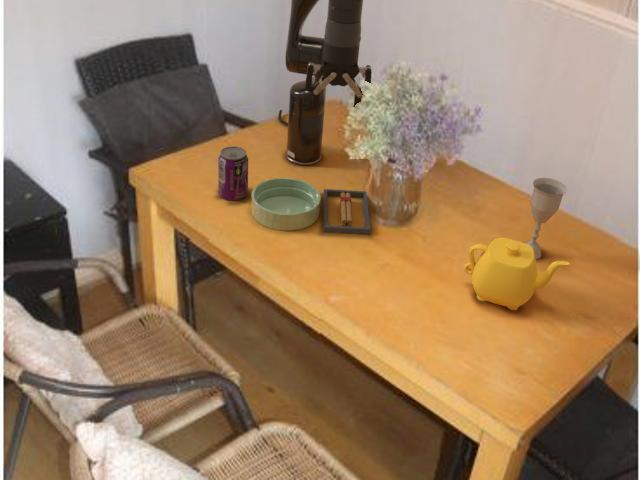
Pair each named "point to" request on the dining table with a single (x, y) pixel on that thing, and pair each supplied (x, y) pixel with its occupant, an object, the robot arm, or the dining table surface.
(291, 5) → the robot arm
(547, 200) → the chalice
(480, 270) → the teapot
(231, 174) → the beverage can
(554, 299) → the dining table surface
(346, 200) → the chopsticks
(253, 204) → the bowl
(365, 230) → the tray
